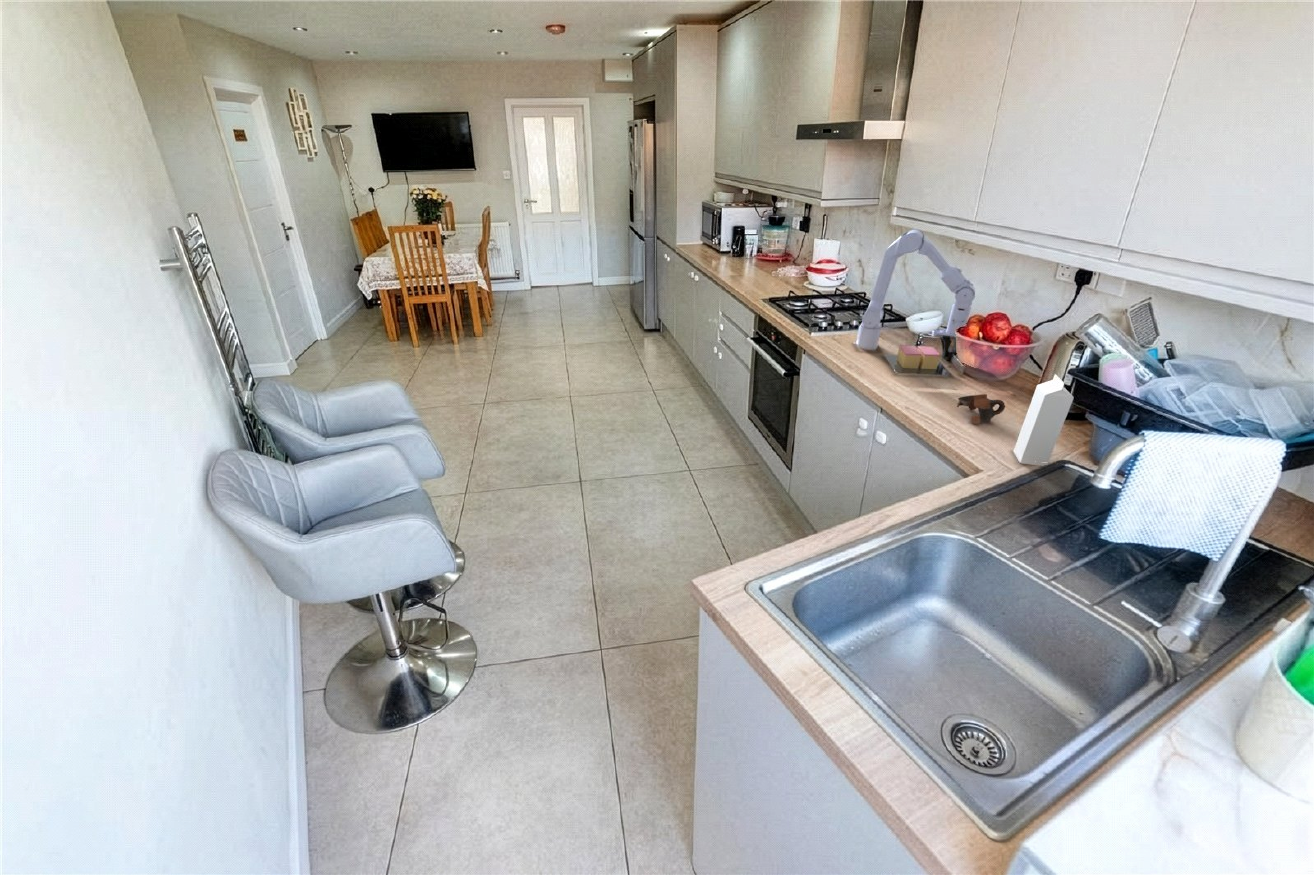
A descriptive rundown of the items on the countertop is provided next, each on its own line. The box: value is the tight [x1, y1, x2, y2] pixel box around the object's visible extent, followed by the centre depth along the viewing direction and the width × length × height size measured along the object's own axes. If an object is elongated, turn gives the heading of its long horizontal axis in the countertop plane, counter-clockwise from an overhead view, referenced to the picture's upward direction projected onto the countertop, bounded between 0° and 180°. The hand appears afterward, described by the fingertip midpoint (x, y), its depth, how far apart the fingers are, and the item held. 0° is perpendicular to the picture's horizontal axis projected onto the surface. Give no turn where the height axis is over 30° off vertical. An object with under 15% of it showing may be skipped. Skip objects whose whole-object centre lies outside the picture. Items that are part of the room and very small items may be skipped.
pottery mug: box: [956, 393, 1006, 425], centre depth 161 cm, size 12×10×8 cm
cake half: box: [897, 345, 921, 369], centre depth 195 cm, size 8×5×5 cm, turn 174°
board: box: [883, 354, 952, 376], centre depth 197 cm, size 18×18×1 cm
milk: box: [1013, 374, 1075, 467], centre depth 136 cm, size 6×6×22 cm
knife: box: [941, 347, 966, 375], centre depth 195 cm, size 17×2×4 cm, turn 174°
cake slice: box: [916, 345, 941, 369], centre depth 195 cm, size 8×5×5 cm, turn 174°
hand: (948, 356), depth 201 cm, fingers closed on knife, 2 cm apart
